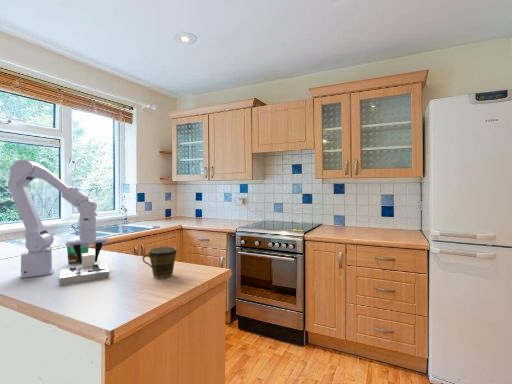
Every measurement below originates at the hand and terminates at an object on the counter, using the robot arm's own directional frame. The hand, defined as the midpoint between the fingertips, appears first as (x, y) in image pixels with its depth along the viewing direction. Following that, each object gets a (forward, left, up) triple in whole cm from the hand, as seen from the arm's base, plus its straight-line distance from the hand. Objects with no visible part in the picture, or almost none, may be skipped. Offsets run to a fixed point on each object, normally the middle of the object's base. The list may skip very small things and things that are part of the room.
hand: (88, 262), depth 116 cm
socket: (-1, -11, -3) cm, 11 cm away
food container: (-2, +18, -3) cm, 18 cm away
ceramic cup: (+22, -26, -3) cm, 34 cm away
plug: (0, 0, -3) cm, 3 cm away
